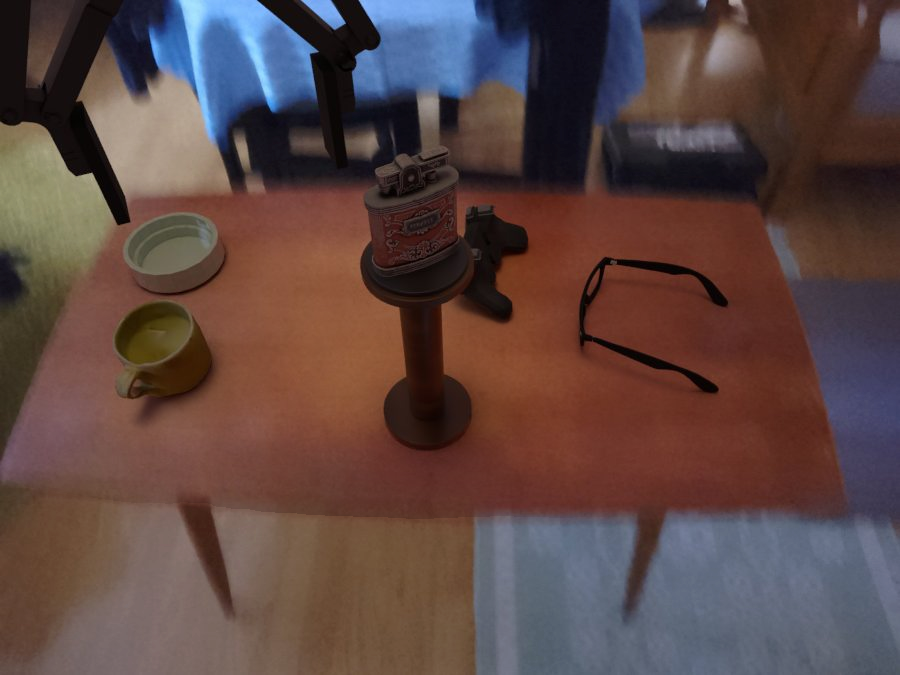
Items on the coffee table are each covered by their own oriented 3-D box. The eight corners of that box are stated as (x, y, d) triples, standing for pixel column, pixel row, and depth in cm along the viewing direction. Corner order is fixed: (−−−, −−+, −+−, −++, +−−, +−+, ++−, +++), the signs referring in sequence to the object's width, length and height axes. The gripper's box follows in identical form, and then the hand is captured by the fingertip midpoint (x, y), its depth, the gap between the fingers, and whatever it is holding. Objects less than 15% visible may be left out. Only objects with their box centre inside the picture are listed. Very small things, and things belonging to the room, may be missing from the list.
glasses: (591, 275, 93) (595, 247, 89) (727, 300, 89) (737, 272, 85) (564, 366, 83) (567, 339, 79) (716, 400, 79) (727, 373, 75)
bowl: (140, 307, 89) (128, 285, 86) (128, 248, 97) (117, 226, 94) (234, 279, 93) (226, 257, 89) (216, 224, 100) (208, 202, 97)
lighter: (383, 283, 57) (370, 186, 50) (366, 258, 59) (352, 162, 52) (466, 251, 60) (467, 154, 52) (448, 228, 62) (446, 132, 54)
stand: (402, 463, 74) (382, 311, 55) (372, 394, 80) (344, 236, 61) (486, 431, 76) (493, 275, 58) (450, 366, 82) (446, 206, 64)
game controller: (490, 248, 99) (458, 195, 93) (533, 237, 96) (503, 182, 90) (467, 331, 89) (430, 278, 83) (514, 322, 86) (478, 266, 80)
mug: (164, 311, 86) (145, 276, 77) (232, 352, 86) (221, 323, 77) (97, 389, 81) (68, 362, 72) (169, 434, 81) (149, 412, 72)
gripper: (369, -294, 32) (396, 109, 49) (-252, -251, 26) (18, 199, 42) (431, -267, 28) (438, 167, 44) (-301, -206, 21) (22, 277, 38)
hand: (233, 183), depth 43 cm, fingers open, 13 cm apart
